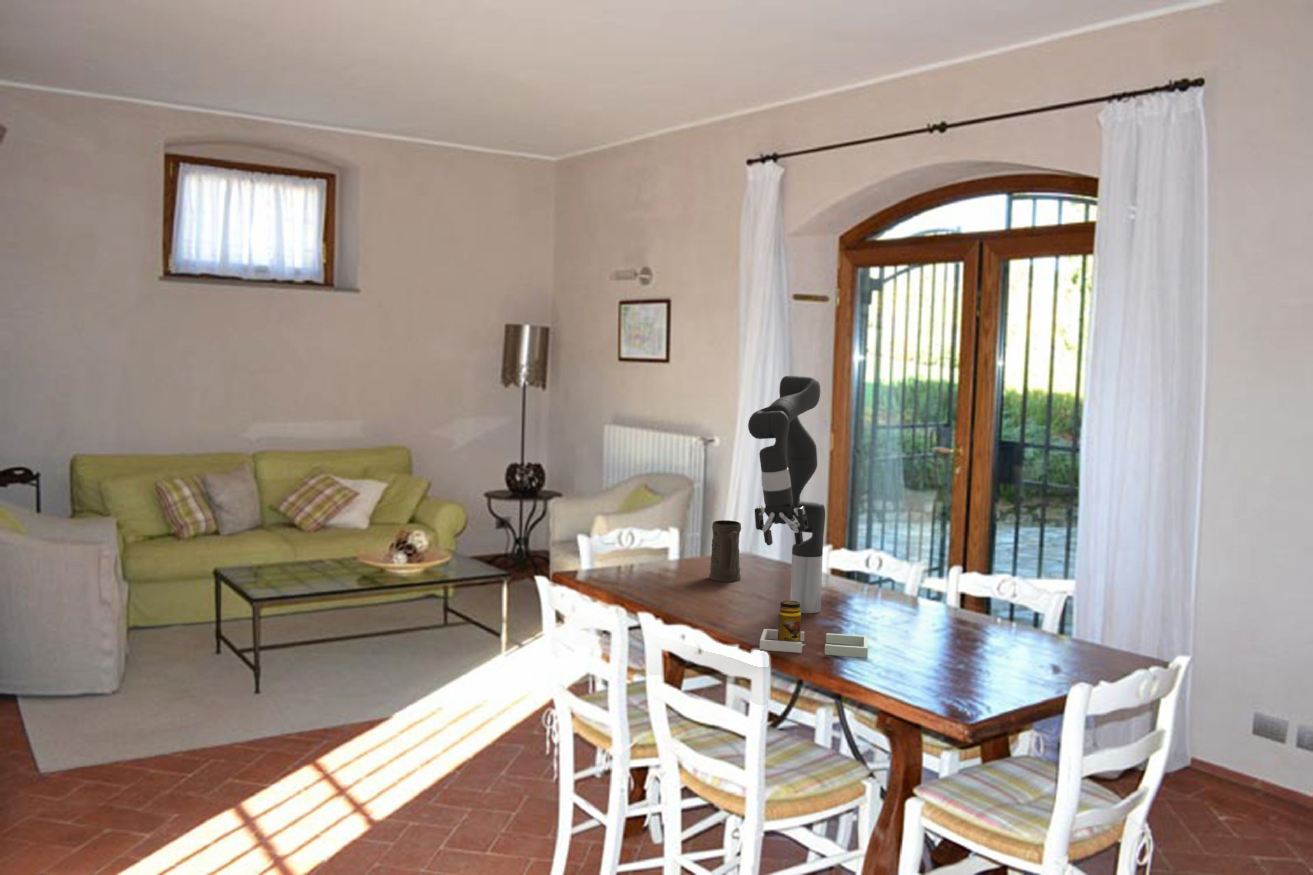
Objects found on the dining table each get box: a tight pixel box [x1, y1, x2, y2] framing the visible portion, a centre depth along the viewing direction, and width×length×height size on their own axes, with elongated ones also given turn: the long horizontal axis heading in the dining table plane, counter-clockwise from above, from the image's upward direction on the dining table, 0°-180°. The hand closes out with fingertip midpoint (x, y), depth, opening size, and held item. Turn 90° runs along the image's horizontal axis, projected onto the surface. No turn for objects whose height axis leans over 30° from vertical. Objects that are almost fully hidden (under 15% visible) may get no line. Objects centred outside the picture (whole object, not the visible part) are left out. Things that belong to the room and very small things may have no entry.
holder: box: [759, 628, 805, 654], centre depth 299 cm, size 12×11×2 cm
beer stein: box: [708, 519, 742, 583], centre depth 380 cm, size 15×11×20 cm
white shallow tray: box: [824, 632, 869, 659], centre depth 296 cm, size 12×11×2 cm
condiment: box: [774, 599, 806, 647], centre depth 298 cm, size 7×8×12 cm
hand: (784, 544), depth 296 cm, fingers open, 8 cm apart
